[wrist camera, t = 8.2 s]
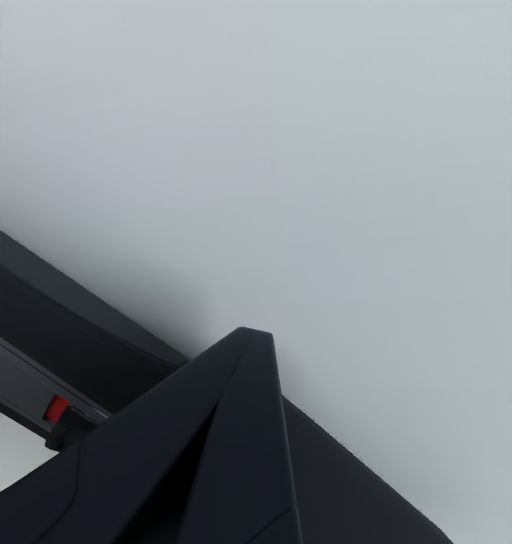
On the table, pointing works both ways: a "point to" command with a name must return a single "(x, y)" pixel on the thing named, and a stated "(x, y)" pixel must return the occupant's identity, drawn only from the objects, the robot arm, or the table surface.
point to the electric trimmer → (145, 375)
